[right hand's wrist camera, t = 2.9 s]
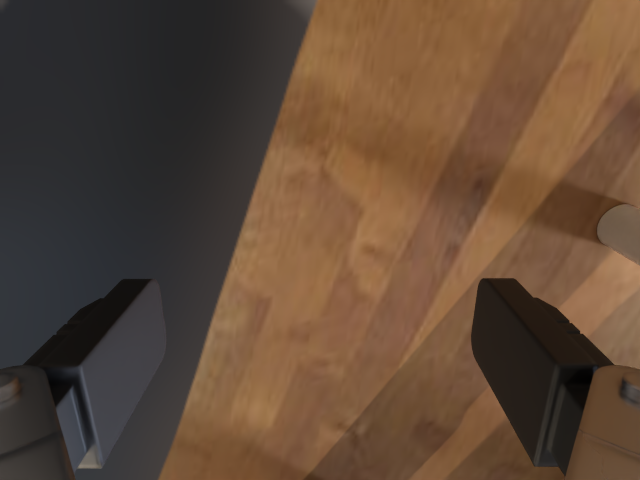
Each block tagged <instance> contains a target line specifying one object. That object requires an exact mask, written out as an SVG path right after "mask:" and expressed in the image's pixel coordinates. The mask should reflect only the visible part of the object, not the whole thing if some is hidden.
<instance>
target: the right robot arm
mask: <svg viewBox="0 0 640 480" xmlns="http://www.w3.org/2000/svg"><path fill="white" fill-rule="evenodd" d="M471 344H472V350H473V354H474V357H475V359H476V361H477V363H478V365H479V367H480V369H481V370H482V372H483V374H484V376H485V378H486V379H487V381H488V383H489V385H490V387H491V388H492V390H493V392H494V394H495V396H496V398H497V399H498V401H499V403H500V405H501V407H502V408H503V410H504V412H505V414H506V416H507V418H508V419H509V421H510V423H511V425H512V427H513V428H514V430H515V432H516V434H517V436H518V437H519V439H520V441H521V443H522V445H523V447H524V448H525V450H526V452H527V454H528V456H529V457H530V459H531V461H532V463H533V465H534V466H535V467H559V468H560V469H561V471H562V472H563V474H564V476H565V480H640V369H637V368H633V367H628V366H620V365H614V364H613V363H612V362H611V361H610V360H609V359H608V358H607V357H606V356H605V355H604V354H603V353H602V352H601V351H600V350H599V349H598V348H597V347H596V346H595V345H594V344H593V343H592V342H591V341H590V340H589V339H587V338H586V337H585V336H584V335H583V334H580V331H579V330H578V329H577V328H576V327H575V326H574V325H573V324H572V323H569V320H568V319H567V318H566V317H565V316H564V315H563V314H562V313H561V312H560V311H559V310H558V309H557V308H555V307H553V306H551V305H550V304H548V303H546V302H544V301H542V300H540V299H539V298H533V297H532V296H531V295H530V294H529V293H528V292H527V291H526V290H525V288H524V287H523V286H522V285H521V284H520V283H519V282H518V281H517V280H516V279H514V278H483V279H482V280H481V281H480V283H479V285H478V290H477V297H476V304H475V311H474V319H473V326H472V333H471ZM165 349H166V329H165V322H164V315H163V308H162V301H161V294H160V288H159V284H158V282H157V281H156V280H155V279H123V280H121V281H120V282H119V283H118V284H117V285H116V286H115V287H114V288H113V289H112V290H111V291H110V292H109V293H108V294H107V296H106V297H105V298H100V299H98V300H96V301H94V302H93V303H91V304H89V305H87V306H85V307H83V308H82V309H80V310H79V311H78V312H77V313H76V314H75V315H74V316H73V317H72V318H71V319H70V320H69V321H68V323H67V324H65V325H64V326H63V327H61V328H60V329H59V330H58V331H57V334H56V335H53V336H52V337H51V338H50V339H49V340H48V341H47V342H46V343H45V344H44V345H43V346H42V347H41V348H40V349H39V350H38V351H37V352H36V353H35V354H34V355H33V356H31V357H30V358H29V359H28V360H27V361H26V362H25V363H24V364H23V365H20V366H12V367H7V368H3V369H0V480H75V476H74V473H75V471H76V470H77V468H102V467H103V465H104V463H105V462H106V460H107V458H108V456H109V455H110V453H111V451H112V449H113V447H114V446H115V444H116V442H117V440H118V438H119V437H120V435H121V433H122V431H123V429H124V428H125V426H126V424H127V422H128V421H129V419H130V417H131V415H132V413H133V412H134V410H135V408H136V406H137V404H138V403H139V401H140V399H141V397H142V395H143V394H144V392H145V390H146V388H147V386H148V385H149V383H150V381H151V379H152V378H153V376H154V374H155V372H156V370H157V369H158V367H159V365H160V363H161V361H162V359H163V357H164V354H165Z"/></svg>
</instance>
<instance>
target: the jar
mask: <svg viewBox="0 0 640 480" xmlns="http://www.w3.org/2000/svg"><path fill="white" fill-rule="evenodd" d="M597 235H598V238H599V240H600V241H601V242H602V243H603V244H604V245H606V246H607V247H609V248H611V249H612V250H614V251H616V252H617V253H619V254H621V255H622V256H624V257H626V258H628V259H629V260H631V261H633V262H634V263H636V264H638V265H639V266H640V208H638V207H635V206H633V205H628V204H624V205H619V206H616V207H613V208H611V209H610V210H608V211H607V212H606V213H605V214H604V215H603V216H602V218H601V219H600V221H599V223H598V226H597Z"/></svg>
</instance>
